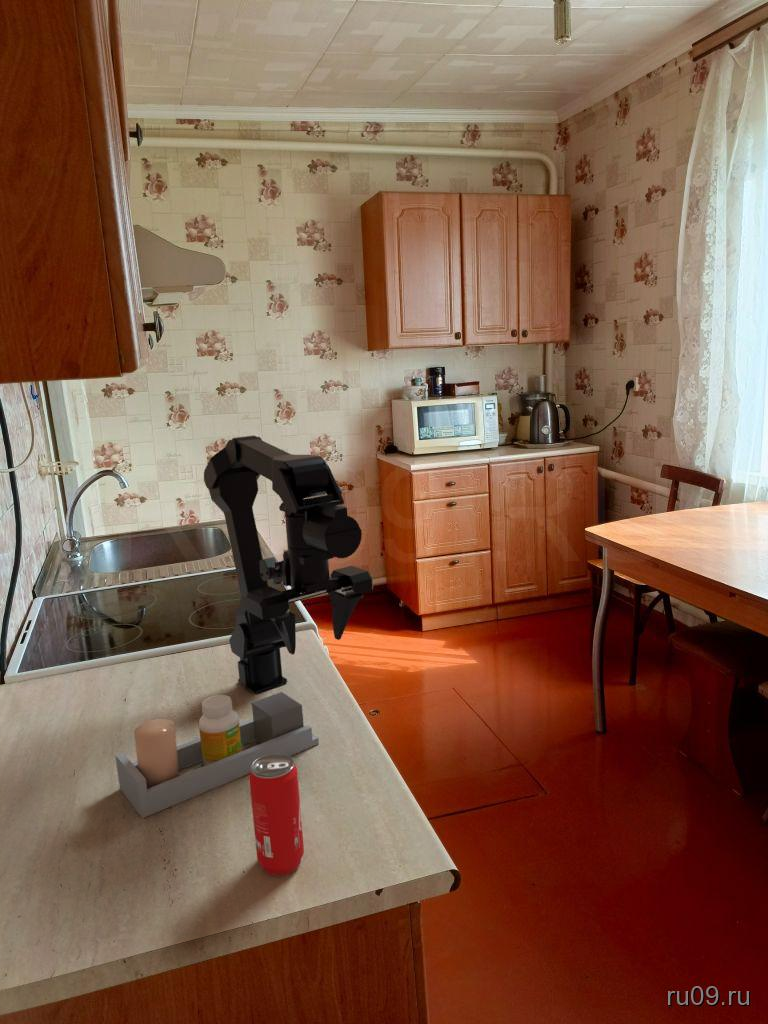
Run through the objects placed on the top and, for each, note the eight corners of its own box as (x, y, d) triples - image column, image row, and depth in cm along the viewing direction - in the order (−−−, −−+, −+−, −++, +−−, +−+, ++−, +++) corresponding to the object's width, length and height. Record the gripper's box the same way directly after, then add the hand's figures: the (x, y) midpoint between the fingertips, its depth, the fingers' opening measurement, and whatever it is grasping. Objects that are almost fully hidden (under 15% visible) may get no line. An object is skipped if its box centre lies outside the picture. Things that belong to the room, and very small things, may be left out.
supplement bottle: (233, 777, 100) (226, 711, 98) (196, 775, 101) (189, 709, 99) (248, 756, 105) (242, 693, 103) (213, 754, 106) (206, 691, 104)
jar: (169, 775, 101) (163, 715, 99) (187, 790, 97) (181, 728, 95) (134, 790, 98) (127, 728, 96) (152, 807, 94) (145, 743, 92)
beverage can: (259, 849, 85) (250, 754, 82) (305, 844, 85) (297, 750, 83) (256, 880, 80) (246, 780, 77) (304, 875, 80) (295, 776, 78)
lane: (288, 723, 114) (286, 693, 113) (318, 744, 107) (316, 712, 106) (120, 788, 99) (115, 754, 97) (142, 818, 92) (137, 782, 91)
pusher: (284, 728, 112) (281, 691, 111) (304, 743, 107) (301, 705, 106) (255, 740, 109) (251, 702, 108) (274, 755, 104) (271, 716, 103)
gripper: (331, 524, 118) (337, 616, 121) (223, 547, 107) (233, 648, 111) (372, 535, 109) (378, 635, 113) (259, 561, 99) (269, 671, 102)
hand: (315, 646), depth 110 cm, fingers open, 8 cm apart
